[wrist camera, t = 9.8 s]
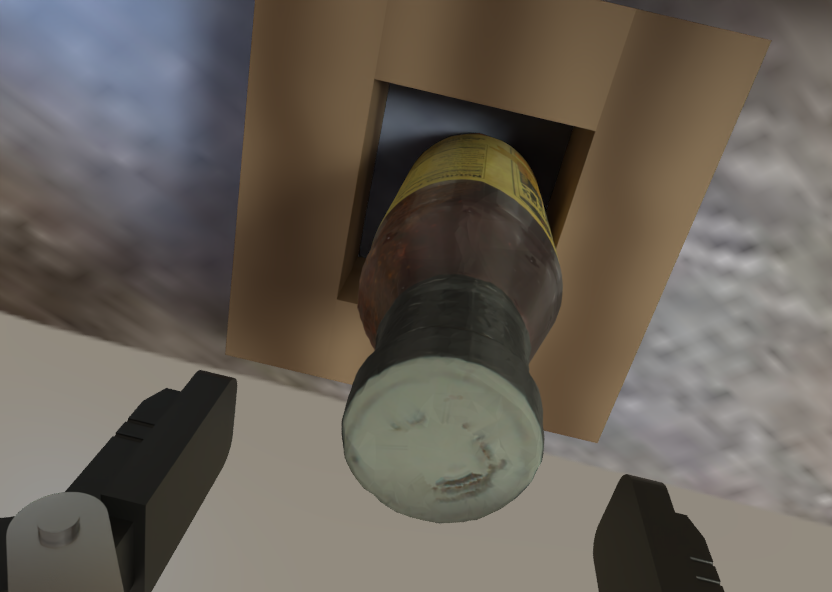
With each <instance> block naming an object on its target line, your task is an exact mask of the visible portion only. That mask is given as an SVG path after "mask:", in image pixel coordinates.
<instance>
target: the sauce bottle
mask: <svg viewBox="0 0 832 592" xmlns="http://www.w3.org/2000/svg"><path fill="white" fill-rule="evenodd" d="M562 296H563V280H562V272H561V267H560V263H559V259H558V256H557V252H556V247H555V245H554V242H553V238H552V235H551V231H550V227H549V223H548V220H547V216H546V212H545V209H544V206H543V202H542V198H541V195H540V191H539V188H538V184H537V180H536V178H535V176H534V173H533V171H532V169H531V168H530V166H529V164H528V163H527V162H526V161H525V159H524V158H523V157H522V156H521V155H520V154H519V153H518V152H517V151H516V150H515V149H514V148H512V147H511V146H510V145H508V144H506V143H505V142H503V141H501V140H498V139H495V138H492V137H490V136H487V135H484V134H481V133H470V134H462V135H456V136H450V137H448V138H446V139H444V140H442V141H440V142H438V143H436V144H434V145H433V146H431V147H430V148H429V149H427V150H426V151H425V152H423V154H422V155H421V156H420V157H419V158H418V159H417V161H416V162H415V163H414V165H413V166H412V168H411V170H410V171H409V173H408V175H407V177H406V179H405V181H404V182H403V184H402V186H401V188H400V190H399V192H398V193H397V195H396V197H395V199H394V201H393V202H392V204H391V206H390V208H389V209H388V211H387V213H386V215H385V217H384V218H383V220H382V222H381V224H380V226H379V227H378V230H377V232H376V234H375V237H374V239H373V243H372V247H371V250H370V252H369V253H368V255H367V258H366V261H365V263H364V265H363V267H362V272H361V276H360V280H359V291H358V305H357V308H358V311H359V314H360V319H361V321H362V324H363V327H364V330H365V334H366V336H367V337H368V338H369V340H370V343H371V345H372V347H373V349H374V350H375V351H374V352H373V353H372V354H371V355H370V356H368V358H367V359H366V360H365V362H364V363H363V364H362V366H361V367H360V368H359V370H358V372H357V374H356V376H355V379H354V381H353V384H352V389H351V391H350V394H349V397H348V400H347V403H346V407H345V411H344V415H343V418H342V440H343V448H344V455H345V459H346V462H347V464H348V466H349V468H350V470H351V472H352V473H353V475H354V476H355V478H356V479H357V480H358V482H359V483H360V484H361V485H362V487H363V488H364V489H366V490H367V491H369V492H370V493H372V494H374V495H375V496H376V497H377V498H378V500H379V501H380V502H382V503H383V504H385V505H386V506H387V507H389V508H390V509H392V510H394V511H396V512H398V513H401V514H404V515H406V516H409V517H412V518H416V519H420V520H425V521H430V522H435V523H454V522H465V521H469V520H477V519H480V518H482V517H485V516H487V515H489V514H491V513H493V512H495V511H497V510H499V509H501V508H503V507H504V506H505V505H507V504H508V503H510V502H511V501H513V500H514V499H515V498H516V497H518V496H519V494H521V492H523V490H525V489H526V488H527V486H528V485H529V484H530V483H531V481H532V480H533V478H534V475H535V473H536V471H537V469H538V467H539V465H540V464H541V462H542V458H543V451H544V431H543V408H542V401H541V396H540V392H539V388H538V386H537V385H536V383H535V381H534V380H533V378H532V376H531V375H530V373H529V363H530V362H531V360H532V358H533V357H534V355H535V354H536V352H537V350H538V349H539V347H540V346H541V344H542V342H543V341H544V339H545V338H546V336H547V334H548V333H549V331H550V330H551V328H552V326H553V325H554V323H555V321H556V319H557V316H558V313H559V310H560V307H561V303H562Z"/></svg>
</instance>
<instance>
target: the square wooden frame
mask: <svg viewBox="0 0 832 592" xmlns="http://www.w3.org/2000/svg"><path fill="white" fill-rule="evenodd" d="M771 41H772V40H767V39H763V38H759V37H755V36H750V35H746V34H742V33H738V32H733V31H729V30H725V29H720V28H716V27H712V26H708V25H703V24H699V23H695V22H691V21H686V20H682V19H678V18H673V17H669V16H665V15H661V14H656V13H652V12H648V11H644V10H639V9H635V8H631V7H626V6H622V5H618V4H614V3H609V2H605V1H601V0H255V7H254V19H253V31H252V43H251V55H250V66H249V78H248V90H247V102H246V114H245V126H244V138H243V150H242V162H241V174H240V186H239V198H238V210H237V222H236V234H235V246H234V258H233V269H232V281H231V293H230V305H229V317H228V329H227V341H226V353H225V354H226V355H230V356H234V357H238V358H242V359H247V360H251V361H255V362H259V363H263V364H267V365H272V366H276V367H280V368H284V369H288V370H293V371H297V372H301V373H305V374H309V375H314V376H318V377H322V378H326V379H330V380H335V381H339V382H343V383H347V384H351V385H352V384H353V381H354V379H355V376H356V374H357V372H358V370H359V368H360V367H361V366H362V364H363V363H364V362H365V360H366V359H367V358H368V356H370V355H371V354H372V353H373V352H374V351H375V350H374V349H373V347H372V345H371V343H370V340H369V338H368V337H367V336H366V334H365V330H364V327H363V324H362V321H361V319H360V314H359V311H358V308H357V305H358V291H359V280H360V276H361V272H362V267H363V265H364V263H365V261H366V258H362V257H358V255H359V249H360V244H361V238H362V233H363V227H364V222H365V216H366V211H367V205H368V200H369V194H370V189H371V183H372V178H373V172H374V167H375V161H376V156H377V150H378V145H379V139H380V134H381V128H382V123H383V117H384V112H385V106H386V101H387V95H388V90H389V84H390V83H394V84H398V85H402V86H406V87H411V88H415V89H419V90H423V91H428V92H432V93H436V94H440V95H445V96H449V97H453V98H457V99H462V100H466V101H470V102H474V103H479V104H483V105H487V106H491V107H496V108H500V109H504V110H508V111H513V112H517V113H521V114H525V115H529V116H534V117H538V118H542V119H546V120H551V121H555V122H559V123H563V124H568V125H572V126H574V127H573V130H572V133H571V136H570V139H569V142H568V145H567V149H566V152H565V155H564V158H563V161H562V164H561V167H560V171H559V174H558V177H557V180H556V183H555V186H554V189H553V193H552V196H551V199H550V202H549V205H548V208H547V211H546V216H547V220H548V223H549V227H550V231H551V235H552V238H553V242H554V245H555V247H556V252H557V256H558V259H559V263H560V267H561V272H562V280H563V296H562V303H561V307H560V310H559V313H558V316H557V319H556V321H555V323H554V325H553V326H552V328H551V330H550V331H549V333H548V334H547V336H546V338H545V339H544V341H543V342H542V344H541V346H540V347H539V349H538V350H537V352H536V354H535V355H534V357H533V358H532V360H531V362H530V363H529V373H530V375H531V376H532V378H533V380H534V381H535V383H536V385H537V386H538V388H539V392H540V396H541V401H542V408H543V430H544V431H549V432H553V433H557V434H561V435H565V436H570V437H574V438H578V439H582V440H586V441H591V442H595V443H598V441H599V438H600V436H601V434H602V431H603V429H604V427H605V424H606V422H607V420H608V417H609V415H610V413H611V410H612V408H613V406H614V404H615V401H616V399H617V397H618V394H619V392H620V390H621V387H622V385H623V383H624V380H625V378H626V376H627V373H628V371H629V369H630V367H631V364H632V362H633V360H634V357H635V355H636V353H637V350H638V348H639V346H640V343H641V341H642V339H643V337H644V334H645V332H646V330H647V327H648V325H649V323H650V320H651V318H652V316H653V313H654V311H655V309H656V306H657V304H658V302H659V300H660V297H661V295H662V293H663V290H664V288H665V286H666V283H667V281H668V279H669V276H670V274H671V272H672V270H673V267H674V265H675V263H676V260H677V258H678V256H679V253H680V251H681V249H682V246H683V244H684V242H685V239H686V237H687V235H688V233H689V230H690V228H691V226H692V223H693V221H694V219H695V216H696V214H697V212H698V209H699V207H700V205H701V203H702V200H703V198H704V196H705V193H706V191H707V189H708V186H709V184H710V182H711V179H712V177H713V175H714V172H715V170H716V168H717V166H718V163H719V161H720V159H721V156H722V154H723V152H724V149H725V147H726V145H727V142H728V140H729V138H730V135H731V133H732V131H733V129H734V126H735V124H736V122H737V119H738V117H739V115H740V112H741V110H742V108H743V105H744V103H745V101H746V99H747V96H748V94H749V92H750V89H751V87H752V85H753V82H754V80H755V78H756V75H757V73H758V71H759V68H760V66H761V64H762V62H763V59H764V57H765V55H766V52H767V50H768V48H769V45H770V43H771Z"/></svg>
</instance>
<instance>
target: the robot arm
mask: <svg viewBox="0 0 832 592" xmlns="http://www.w3.org/2000/svg"><path fill="white" fill-rule="evenodd" d="M236 393H237V381H236V379H235V378H231V377H227V376H223V375H219V374H215V373H211V372H207V371H202V370H199V371H197V372H196V373H195V375H194V376H193V377H192V378H191V380H190V381H189V382H188V384H187V385H186V386H185V387H184V389H183V390H182V391H181V392H180V391H176V390H172V389H168V388H166V389H164V390H162V391H160V392H158V393H156V394H155V395H153V396H151V397H149V398H147V399H146V400H144V401H143V402H142V403H141V404H140V405H139V406H138V407H137V409H136V410H135V411H134V412H133V413H132V414H131V416H130V417H129V418H128V421H127V422H125V423H124V424H123V425H122V426H121V427H120V428H119V430H118V431H117V432H116V435H115V437H112V438H111V439H110V440H109V441H108V443H107V444H106V445H105V446H104V447H103V448H102V449H101V451H100V452H99V453H98V454H97V455H96V456H95V458H94V459H93V460H92V461H91V462H90V463H89V465H88V466H87V467H86V468H85V469H84V470H83V471H82V473H81V474H80V475H79V476H78V477H77V479H76V480H75V481H74V482H73V483H72V484H71V485H70V487H69V488H68V489H67V490H66V491H65V492H62V493H56V494H52V495H48V496H45V497H43V498H40V499H38V500H36V501H34V502H32V503H30V504H29V505H27V506H26V507H24V508H23V509H22V510H21V511H20V512H18V514H16V516H14V517H6V518H0V592H151V591H152V590H153V588H154V586H155V585H156V583H157V581H158V579H159V577H160V576H161V574H162V572H163V571H164V569H165V567H166V565H167V564H168V562H169V560H170V558H171V557H172V555H173V553H174V551H175V550H176V548H177V546H178V544H179V543H180V541H181V539H182V538H183V536H184V534H185V532H186V531H187V529H188V527H189V525H190V523H191V522H192V520H193V518H194V517H195V515H196V513H197V511H198V510H199V508H200V506H201V504H202V503H203V501H204V499H205V497H206V495H207V494H208V492H209V490H210V489H211V487H212V485H213V484H214V482H215V480H216V478H217V476H218V475H219V473H220V471H221V470H222V468H223V466H224V464H225V461H226V459H227V456H228V453H229V450H230V447H231V442H232V436H233V426H234V414H235V405H236ZM593 558H594V565H595V571H596V576H597V583H598V588H599V592H724V590H723V587H722V586H720V579H719V576H718V573H717V571H716V568H715V566H713V560H712V557H711V555H710V552H709V549H708V546H707V544H706V541H705V538H704V537H703V536H702V535H701V533H700V532H699V531H698V529H697V528H696V527H695V526H694V524H693V523H692V522H691V520H690V519H689V518H688V517H687V515H683V514H679V513H675V511H674V508H673V505H672V502H671V499H670V496H669V493H668V490H667V488H666V486H665V484H663V483H661V482H657V481H653V480H649V479H645V478H641V477H636V476H632V475H628V474H625V475H623V476H622V477H621V479H620V481H619V482H618V484H617V486H616V489H615V491H614V493H613V495H612V497H611V499H610V502H609V504H608V506H607V508H606V510H605V512H604V514H603V516H602V519H601V521H600V523H599V525H598V527H597V530H596V534H595V538H594V546H593Z"/></svg>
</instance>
